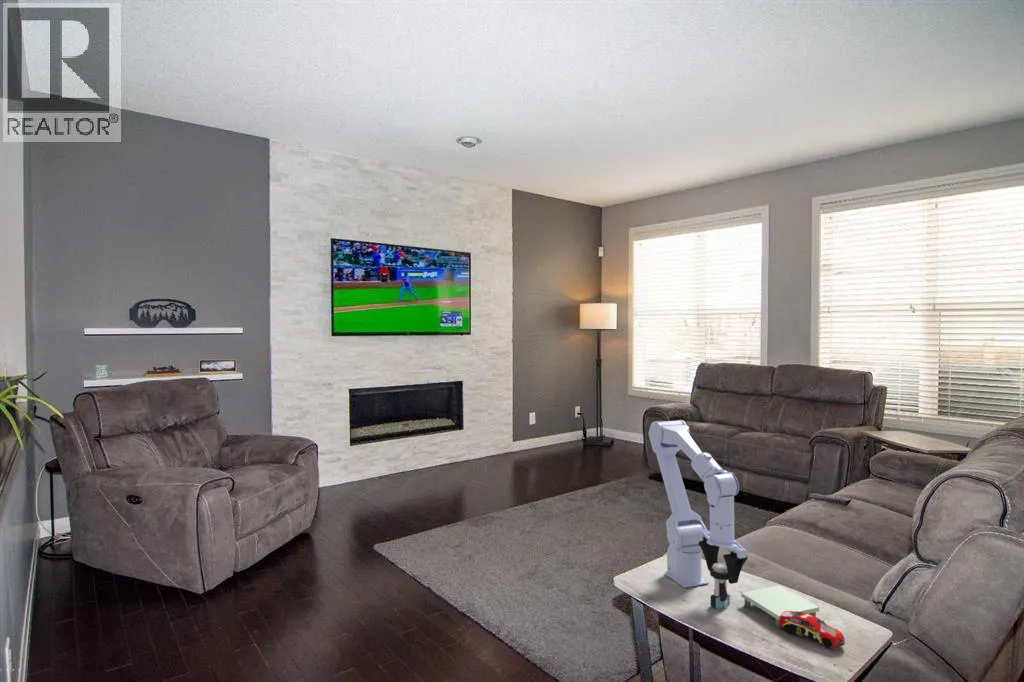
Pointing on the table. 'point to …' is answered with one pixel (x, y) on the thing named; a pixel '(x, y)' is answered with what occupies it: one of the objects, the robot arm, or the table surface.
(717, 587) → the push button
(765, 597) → the stand
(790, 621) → the race car
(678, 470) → the robot arm
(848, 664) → the table surface
